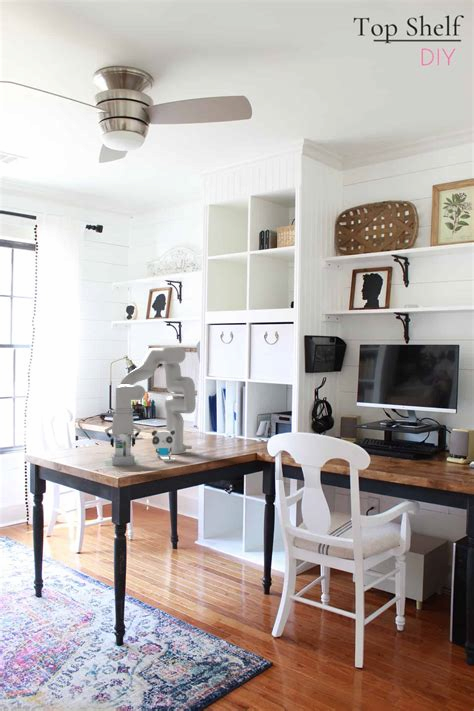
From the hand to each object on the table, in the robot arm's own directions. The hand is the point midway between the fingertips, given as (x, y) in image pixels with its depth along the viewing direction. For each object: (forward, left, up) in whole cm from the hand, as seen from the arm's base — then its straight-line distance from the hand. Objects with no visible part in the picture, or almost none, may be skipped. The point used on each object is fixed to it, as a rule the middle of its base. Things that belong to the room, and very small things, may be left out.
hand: (122, 446), depth 292 cm
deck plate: (0, 0, -10) cm, 10 cm away
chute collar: (0, 0, -8) cm, 8 cm away
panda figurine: (-22, -15, -10) cm, 28 cm away
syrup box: (0, 0, -8) cm, 8 cm away
